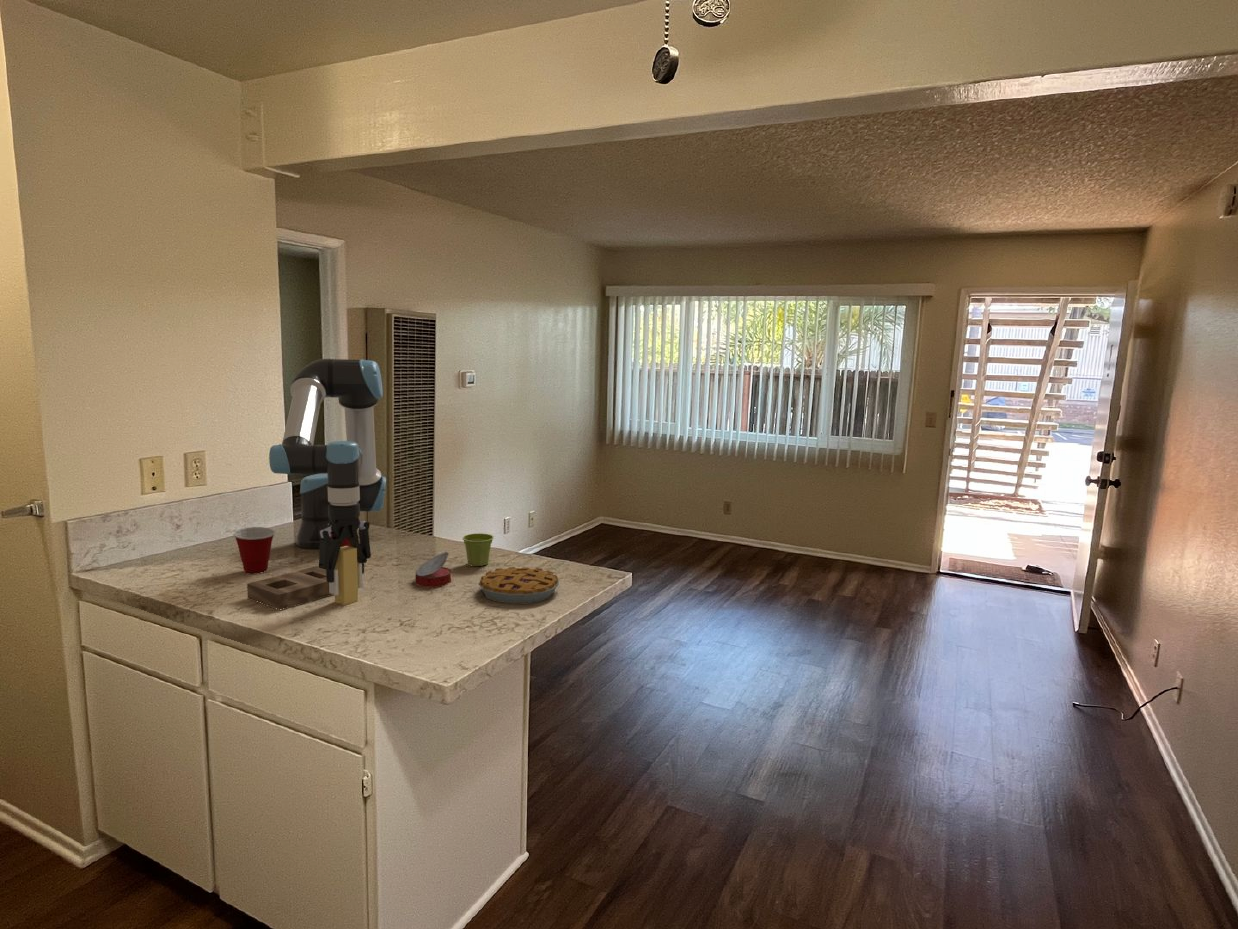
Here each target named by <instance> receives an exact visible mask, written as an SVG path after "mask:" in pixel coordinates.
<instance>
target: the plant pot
mask: <svg viewBox="0 0 1238 929" xmlns="http://www.w3.org/2000/svg"><path fill="white" fill-rule="evenodd" d="M494 537H495V536H493V535H492V534H490V533H483V532H482V533H481V532H479V533H469V534H465V535H463V536H462V541H463V544H464V546H465V551H466V552H465V553H466V557H467V558H466V559H467V564H469V566H471V565H472V566H471V567H473V566H481V567H482V566H484V565H486V564H487V565H489V561H490V552H491V546H492V544H493V540H494ZM487 565H486V566H487Z"/></svg>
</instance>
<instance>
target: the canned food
mask: <svg viewBox="0 0 1238 929" xmlns="http://www.w3.org/2000/svg"><path fill="white" fill-rule="evenodd" d="M448 556H449V553H448V551H445V552H441V553H439V554H437V555H435V556H434V557H432V558H430V559H428V560H427V561H425V562H424V563H422V564H421V565H419V566H418V568H417V569H416V571H415V584H416V585H417V584H418V586H420V587H423V588H424V587H426V588H436V587H437V588H438V587H443V586H446V585H445V584H447V583H449V584H450V583H451V582H452V570H451V569H450V568H448V567H444V565H445V564H446V562H447V559H448ZM442 585H443V586H442ZM447 585H448V584H447Z"/></svg>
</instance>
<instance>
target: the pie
mask: <svg viewBox="0 0 1238 929" xmlns="http://www.w3.org/2000/svg"><path fill="white" fill-rule="evenodd" d="M559 583H560V579H559V578H558V576H557V575H556V574H554V573H553V571H550V570H546V571H545V570H543V569H542V568H539V567H536V568H535V569H534V568H530V567H525V566H523V567H521V568H519V567H514V566H512V567H508V568H503V569H502V568H495V570H494V571H492V570H489V571H487V572H486V573H485V575H482V576H481V578H480V580H479V582H478V585H479V587H480V588H481V590H482V591H483V594H484V595H485V597H486V598H487V599H488V600H492V601H495V602H498V601H499V602H498V603H504V602H505V603H506V604H520V603H525V604H533V603H532V602H535V603H539V602H542V601H545V600H548V598H550V597H551V596H552V595H553V594H554V592H555V591H556V588H557V587H558V586H559V585H560V584H559ZM549 596H550V597H549ZM538 601H539V602H538Z"/></svg>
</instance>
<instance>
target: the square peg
mask: <svg viewBox="0 0 1238 929" xmlns="http://www.w3.org/2000/svg"><path fill="white" fill-rule="evenodd" d="M335 569H337V570H338V590H339V595H334V603H337V602H338V604H340V605H344V606H345V605H349V604H352V602H353V603H356V602H358V601H359V591H358V590H359V589H358V580H357V548H353V547H350V546H344V547H340V551H339V555H338V559H337V563H336V566H335ZM355 601H356V602H355Z"/></svg>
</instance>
